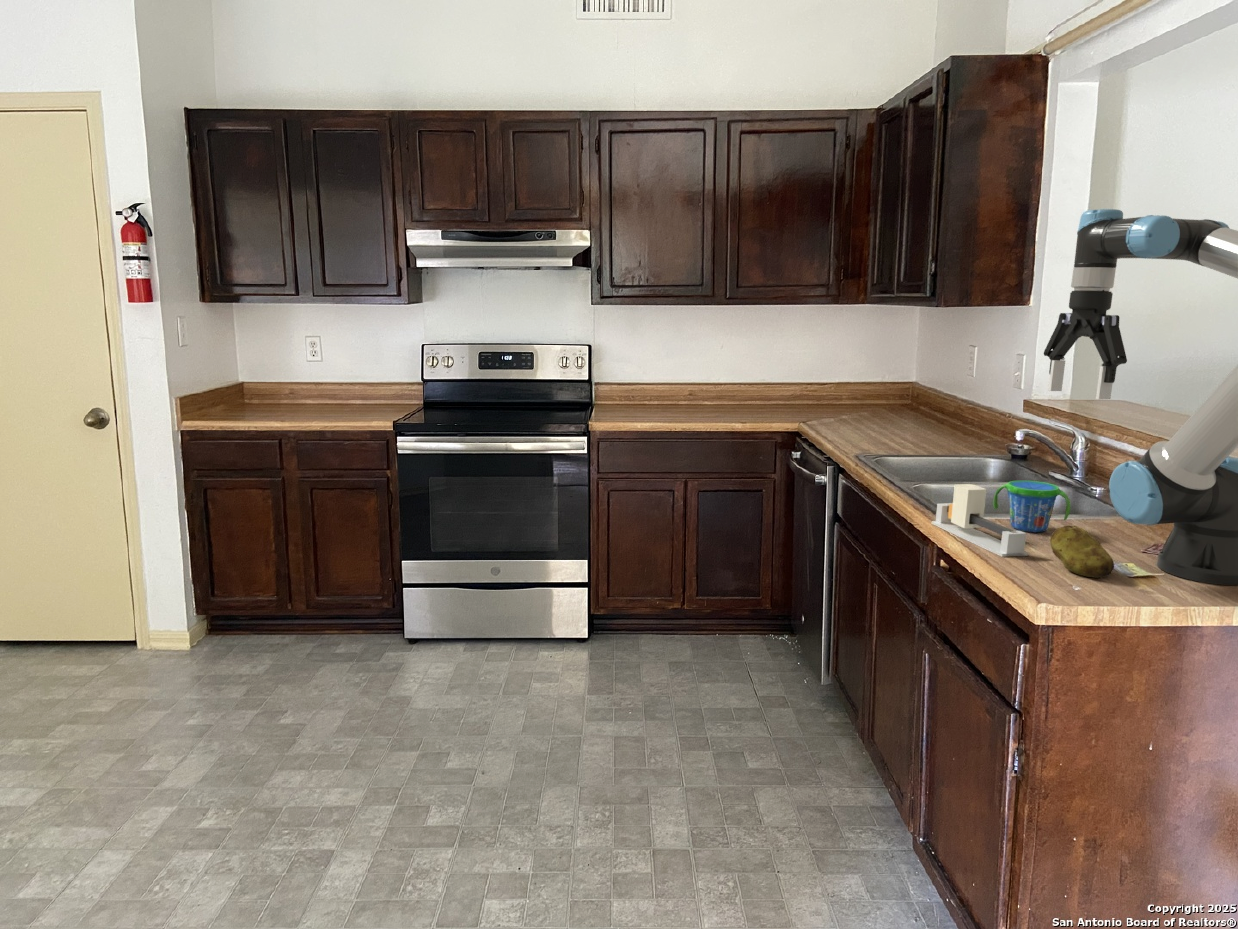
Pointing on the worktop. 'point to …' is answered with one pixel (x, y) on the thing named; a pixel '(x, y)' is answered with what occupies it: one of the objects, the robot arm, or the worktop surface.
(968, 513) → the tall cream pillar
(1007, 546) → the sliding block rail
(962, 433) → the worktop surface
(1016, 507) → the snack cup
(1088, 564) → the potato
